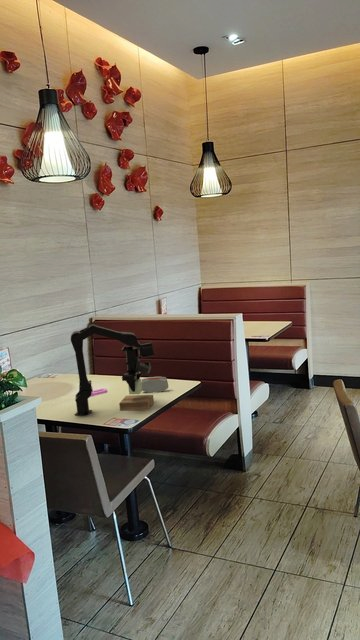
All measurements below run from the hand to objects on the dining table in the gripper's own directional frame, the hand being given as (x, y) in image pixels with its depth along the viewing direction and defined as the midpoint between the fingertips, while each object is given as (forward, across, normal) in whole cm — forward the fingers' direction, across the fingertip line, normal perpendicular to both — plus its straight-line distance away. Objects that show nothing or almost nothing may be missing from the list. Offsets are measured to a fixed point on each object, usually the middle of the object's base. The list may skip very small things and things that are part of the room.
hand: (135, 390), depth 249 cm
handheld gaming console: (+8, +23, -3) cm, 25 cm away
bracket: (+8, +22, +30) cm, 38 cm away
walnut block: (+8, 0, 0) cm, 9 cm away
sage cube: (+1, 0, 0) cm, 1 cm away
